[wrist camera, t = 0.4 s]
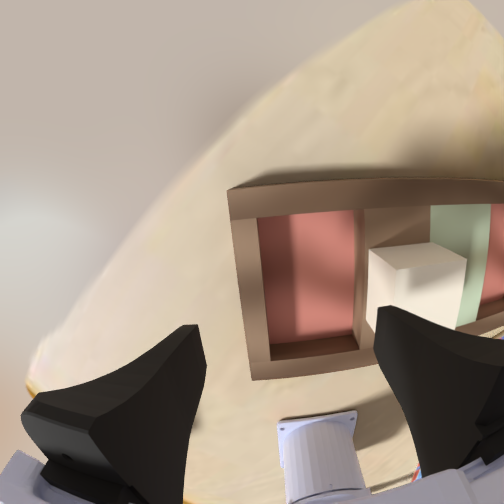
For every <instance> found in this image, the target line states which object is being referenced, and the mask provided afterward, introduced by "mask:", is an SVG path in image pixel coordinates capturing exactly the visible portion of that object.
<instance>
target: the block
mask: <svg viewBox="0 0 504 504" xmlns="http://www.w3.org/2000/svg"><path fill="white" fill-rule="evenodd" d="M466 264H467V259H466V258H464V257H462V256H460V255H458V254H456V253H454V252H452V251H450V250H448V249H446V248H444V247H442V246H440V245H437V244H435V243H433V242H429V243H420V244H411V245H402V246H392V247H383V248H373V249H369V266H368V293H367V310H366V321H367V322H368V324H369V325H370V327H371V328H372V330H373V331H374V333H375V329H376V320H377V309H378V307H382V306H388V305H392V306H396V307H398V308H401V309H403V310H406V311H408V312H410V313H413V314H415V315H417V316H420V317H422V318H424V319H426V320H429V321H431V322H434V323H436V324H439V325H441V326H444V327H447V328H450V329H453V330H455V327H456V322H457V318H458V313H459V308H460V303H461V298H462V292H463V286H464V279H465V272H466Z"/></svg>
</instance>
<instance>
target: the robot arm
mask: <svg viewBox="0 0 504 504" xmlns="http://www.w3.org/2000/svg"><path fill="white" fill-rule="evenodd" d="M373 350H374V353H375V356H376V359H377V361H378V364H379V366H380V369H381V370H382V372H383V374H384V376H385V378H386V380H387V381H388V383H389V385H390V387H391V389H392V390H393V392H394V394H395V396H396V398H397V400H398V401H399V403H400V405H401V407H402V410H403V412H404V414H405V417H406V420H407V422H408V425H409V428H410V431H411V434H412V438H413V441H414V444H415V448H416V452H417V456H418V460H419V465H420V470H421V476H422V479H419V480H416V481H414V482H411V483H408V484H405V485H402V486H399V487H396V488H393V489H390V490H387V491H383V492H380V493H376V494H373V495H372V494H371V490H370V488H366V486H365V482H364V479H363V475H362V472H361V468H360V464H359V461H358V457H357V454H356V450H355V447H354V443H353V440H352V438H353V434H354V430H355V425H356V420H357V416H358V413H357V411H355V410H353V411H348V412H342V413H336V414H331V415H324V416H317V417H310V418H302V419H293V420H283V421H279V422H278V423H277V431H278V442H279V454H280V466H281V467H282V468H284V476H285V493H286V504H504V339H494V338H487V337H481V336H475V335H471V334H467V333H463V332H459V331H456V330H453V329H450V328H447V327H444V326H441V325H439V324H436V323H434V322H431V321H429V320H426V319H424V318H422V317H420V316H417V315H415V314H413V313H410V312H408V311H406V310H403V309H401V308H398V307H396V306H392V305H388V306H382V307H378V309H377V320H376V329H375V338H374V345H373ZM206 368H207V364H206V360H205V355H204V351H203V346H202V342H201V337H200V332H199V328H198V324H196V325H182V326H181V327H179V328H178V329H176V330H175V331H174V332H173V333H171V334H170V335H169V336H167V337H166V338H165V339H163V340H162V341H161V342H160V343H158V344H157V345H156V346H154V347H153V348H151V349H150V350H149V351H147V352H146V353H144V354H143V355H141V356H140V357H138V358H137V359H135V360H134V361H132V362H130V363H129V364H127V365H125V366H123V367H121V368H119V369H118V370H116V371H114V372H112V373H109V374H107V375H104V376H102V377H100V378H97V379H95V380H92V381H89V382H86V383H83V384H80V385H76V386H73V387H69V388H65V389H59V390H54V391H48V392H40V393H38V394H37V395H36V396H35V398H34V399H33V400H32V401H31V403H30V404H29V405H28V406H27V407H26V409H25V410H24V411H23V412H22V414H21V421H22V424H23V426H24V429H25V430H26V432H27V433H28V435H29V436H30V437H31V439H32V440H33V441H34V443H35V444H36V445H37V446H38V448H39V449H40V450H41V451H42V452H43V453H44V455H45V456H46V457H47V458H48V459H49V460H48V461H47V463H46V465H44V464H43V463H41V462H40V461H39V460H37V459H36V458H34V457H32V456H30V455H28V454H26V453H24V452H22V451H20V450H17V451H16V452H15V453H14V455H13V456H12V458H11V459H10V461H9V462H8V464H7V465H6V467H5V468H4V470H3V471H2V473H1V474H0V503H1V504H183V489H184V476H185V467H186V458H187V451H188V444H189V438H190V433H191V429H192V425H193V422H194V418H195V415H196V412H197V408H198V405H199V401H200V398H201V395H202V391H203V387H204V383H205V376H206Z"/></svg>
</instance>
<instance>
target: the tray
mask: <svg viewBox="0 0 504 504" xmlns="http://www.w3.org/2000/svg"><path fill="white" fill-rule="evenodd" d="M227 198H228V206H229V214H230V223H231V231H232V239H233V247H234V255H235V262H236V270H237V278H238V285H239V293H240V300H241V308H242V315H243V322H244V329H245V336H246V343H247V350H248V357H249V364H250V371H251V378H252V381H255V380H269V379H281V378H291V377H300V376H308V375H316V374H323V373H330V372H336V371H343V370H348V369H354V368H360V367H365V366H370V365H375V364H378V361H377V359H376V356H375V353H374V350H373V345H374V338H375V333H374V331H373V330H372V328H371V327H370V325H369V324H368V322H367V321H366V310H367V293H368V266H369V249H373V248H383V247H392V246H402V245H411V244H420V243H429V242H433V243H435V244H437V245H440V246H442V247H444V248H446V249H448V250H450V251H452V252H454V253H456V254H458V255H460V256H462V257H464V258H466V259H467V264H466V272H465V279H464V286H463V292H462V298H461V303H460V308H459V313H458V318H457V322H456V327H455V330H456V331H459V332H463V333H467V334H471V335H475V336H478V335H481V334H483V333H486V332H489V331H491V330H494V329H496V328H499V327H501V326H504V181H500V180H485V179H465V178H417V177H411V178H360V179H338V180H320V181H305V182H292V183H280V184H269V185H259V186H249V187H240V188H231V189H229V190H227Z"/></svg>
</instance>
